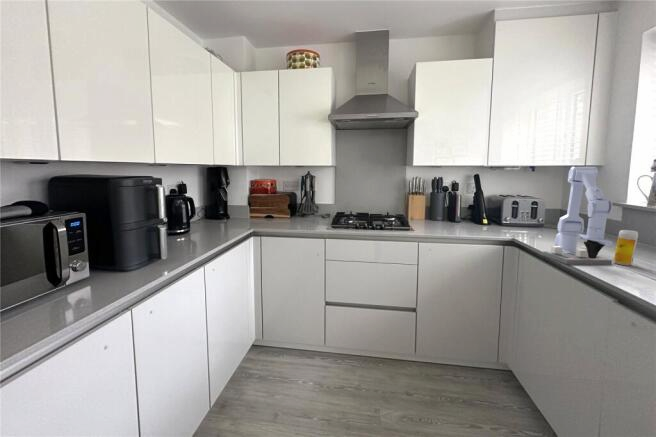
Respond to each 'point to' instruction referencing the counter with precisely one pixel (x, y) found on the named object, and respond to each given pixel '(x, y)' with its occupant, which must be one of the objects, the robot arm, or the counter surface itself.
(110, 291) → the counter surface
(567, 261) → the breaker board
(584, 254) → the block
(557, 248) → the block
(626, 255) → the yellow and white cylinder
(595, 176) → the robot arm
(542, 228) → the counter surface
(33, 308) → the counter surface
